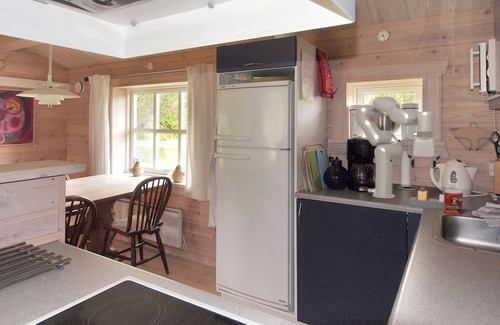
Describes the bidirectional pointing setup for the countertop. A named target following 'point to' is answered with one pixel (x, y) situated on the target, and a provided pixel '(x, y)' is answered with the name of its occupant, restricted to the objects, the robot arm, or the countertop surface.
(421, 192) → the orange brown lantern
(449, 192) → the canned food
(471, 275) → the countertop surface
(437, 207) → the power strip
